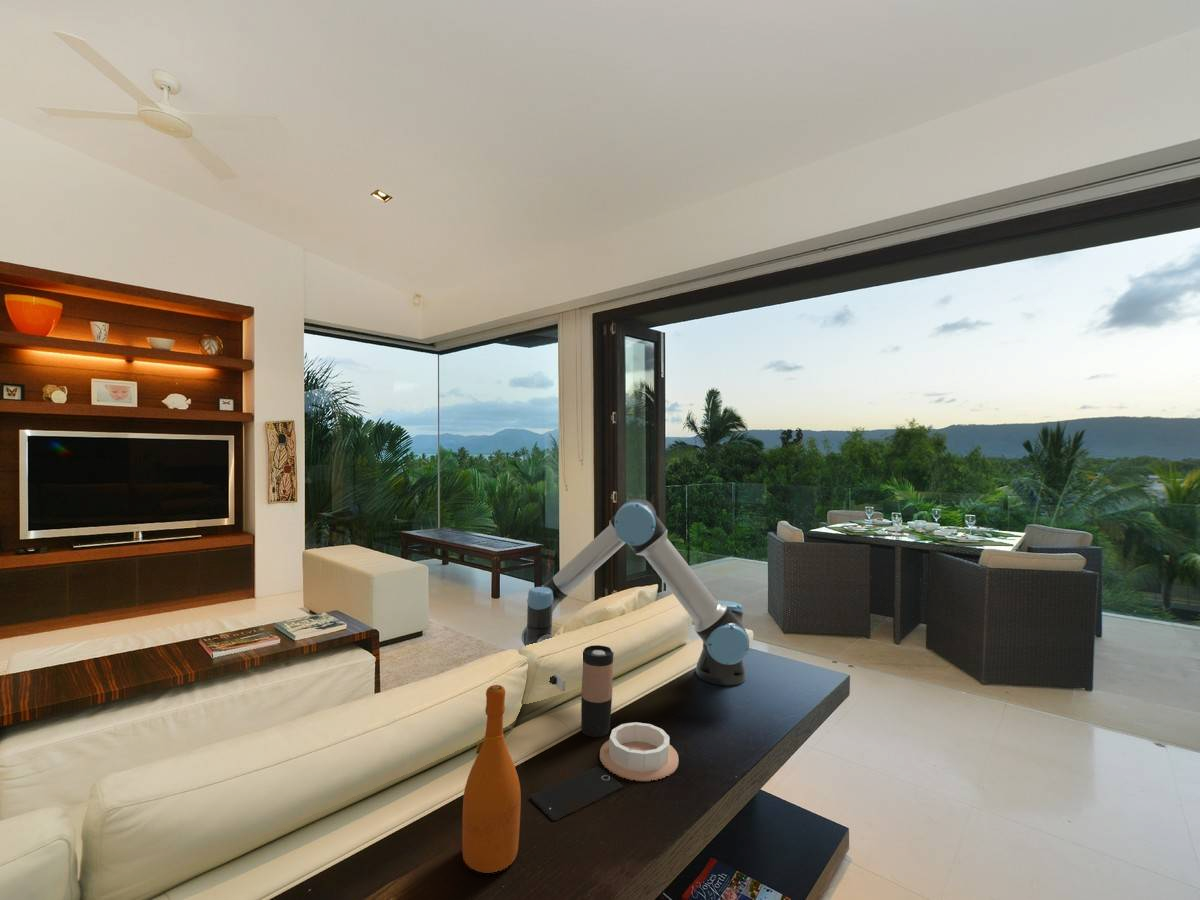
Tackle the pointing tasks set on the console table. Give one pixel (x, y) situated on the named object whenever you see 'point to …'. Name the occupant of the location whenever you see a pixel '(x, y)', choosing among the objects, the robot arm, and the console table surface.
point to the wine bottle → (491, 797)
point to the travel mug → (596, 690)
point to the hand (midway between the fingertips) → (588, 681)
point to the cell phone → (590, 780)
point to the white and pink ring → (639, 752)
